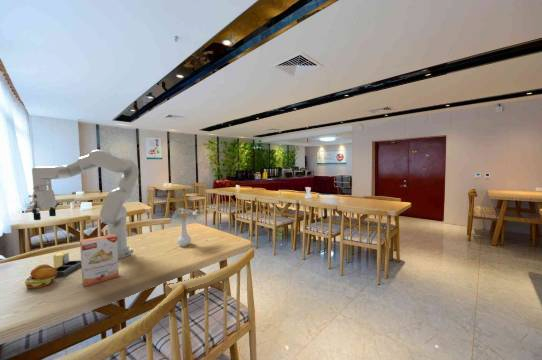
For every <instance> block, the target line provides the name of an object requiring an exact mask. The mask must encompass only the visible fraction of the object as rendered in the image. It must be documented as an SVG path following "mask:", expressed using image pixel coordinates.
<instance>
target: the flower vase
mask: <svg viewBox="0 0 542 360" xmlns="http://www.w3.org/2000/svg"><path fill="white" fill-rule="evenodd" d="M197 210H198V209H196V210H195V211H193V212H191V208H188V209H186V208H182V210H181V211H180V210H179V209H176V210H175V211H174V213H173V214H172V216H171V219H170V220H171V221H172V220H178V221H180V223H181V231H180V235H179V237H178V238H177V240H176V243H177V244H178V245H179V246H180V247H187V246H186V245H188V244H189V245H190V243H191V242H192V237H191V236H190V235H189V234H188V232H187V231H188V230H187V219H192V220H194V221H197V217H198V216H199V213H197V212H198V211H197ZM189 245H188V246H189Z"/></svg>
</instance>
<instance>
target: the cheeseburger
mask: <svg viewBox="0 0 542 360" xmlns="http://www.w3.org/2000/svg"><path fill="white" fill-rule="evenodd" d="M56 275H57V269H56V268H54V266H52V265H49V264H40V265H37V266H35V267H34V268H33V269H31V271H30V275H29V276H28V277H27V278H26V279H25V281H24V284H25V287H26V288H27V289H32V290H33V289H39V288H43V287H46V286H49V285H50V284H51V283H53V282H54V279H55V278H56V277H55V276H56Z"/></svg>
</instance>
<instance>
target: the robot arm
mask: <svg viewBox="0 0 542 360" xmlns="http://www.w3.org/2000/svg"><path fill="white" fill-rule="evenodd" d="M98 168H102V169H104V170H108V171H111V172H113V173H117V174H120V173H121V174H122V176H121V177H120V179H119V181H118V185H117V186H116V188H114V189H112V190H111V191H109V192H108V193H107V194H106V196H105V199H104V202H103V205H102V207H101V210H100V213H99V220H100V221H101V222H102V223H103V224H107V235H112V234H114V235H116V236H117V247H118V260H120V259H123V258H126V257H129V256H130V255H131V254H133V253H134V248H130V246H128V240H127V239H128V238H127V237H128V235H127V215H128V214H127V213H128V212H127V208H126V207H125V206H124V205H125V204H126V203H128V202H129V201H130V199H131V197H132V195H133V192H134V189H135V186H136V183H137V180H138V178H139V171H140V170H139V168H138V165H137V164H136V163H135V162H134V161H133V160H132V159H129V158H126V157H123V158H122V157H118V156H114V155H112V153H111V152H110V151H108V150H104V149H95V150H94V149H93V150H91V152H89V153H88V154H87V155H83V156H79V157H78V158H77V161H75V162H72V163H69V164H64V165H53V166H51V165H50V166H34V167H32V168H31V175H32V186H33V188H32V190H33V192H32V202H31V204H30V205H28V210H29V211H30V212H31V213H32V214H33V215H32V216H33V221H41V220H42V219H41V218H42V216H41V210H43V209H44V210H45V209H49V210H48V213H49V217H56V216H57V214H56V210H57V208H58V203H59V200H56V196H55V191H54V190H53V189H52V188H53V187H52V186H53V185H52V180H61V179H63V180H64V179H69V178H72V177H75V176H79V175H81V174H83V173H87V172H88V171H92V170H94V169H98Z"/></svg>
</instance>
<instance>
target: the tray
mask: <svg viewBox="0 0 542 360" xmlns="http://www.w3.org/2000/svg"><path fill="white" fill-rule="evenodd" d="M80 268H81V259H80V260H69V262H67V263H65V264H63V265H61V266H59V267H58V268H56V269H57V275H56V276H55V278H61V277H63V278H64V277H66V276H67V275H69V274H71V273H73V272H74V271H76V270H77V269H80Z"/></svg>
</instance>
